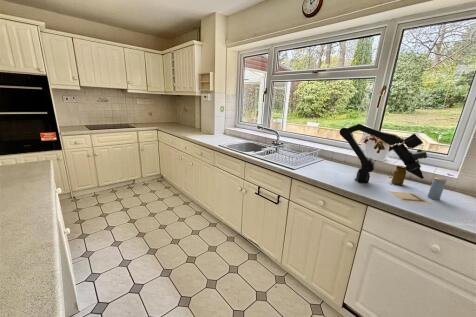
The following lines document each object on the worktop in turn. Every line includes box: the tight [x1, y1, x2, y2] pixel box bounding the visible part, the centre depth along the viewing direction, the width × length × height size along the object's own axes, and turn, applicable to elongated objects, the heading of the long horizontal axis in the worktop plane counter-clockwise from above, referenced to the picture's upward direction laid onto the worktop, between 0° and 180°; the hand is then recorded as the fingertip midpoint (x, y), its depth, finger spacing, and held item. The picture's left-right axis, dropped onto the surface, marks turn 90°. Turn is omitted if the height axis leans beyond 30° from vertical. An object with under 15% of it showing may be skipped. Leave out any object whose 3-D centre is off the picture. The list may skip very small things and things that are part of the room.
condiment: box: [389, 165, 408, 187], centre depth 131 cm, size 7×8×12 cm
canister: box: [426, 176, 448, 201], centre depth 113 cm, size 5×5×12 cm
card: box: [388, 190, 433, 205], centre depth 114 cm, size 15×13×1 cm
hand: (422, 176), depth 115 cm, fingers open, 9 cm apart
